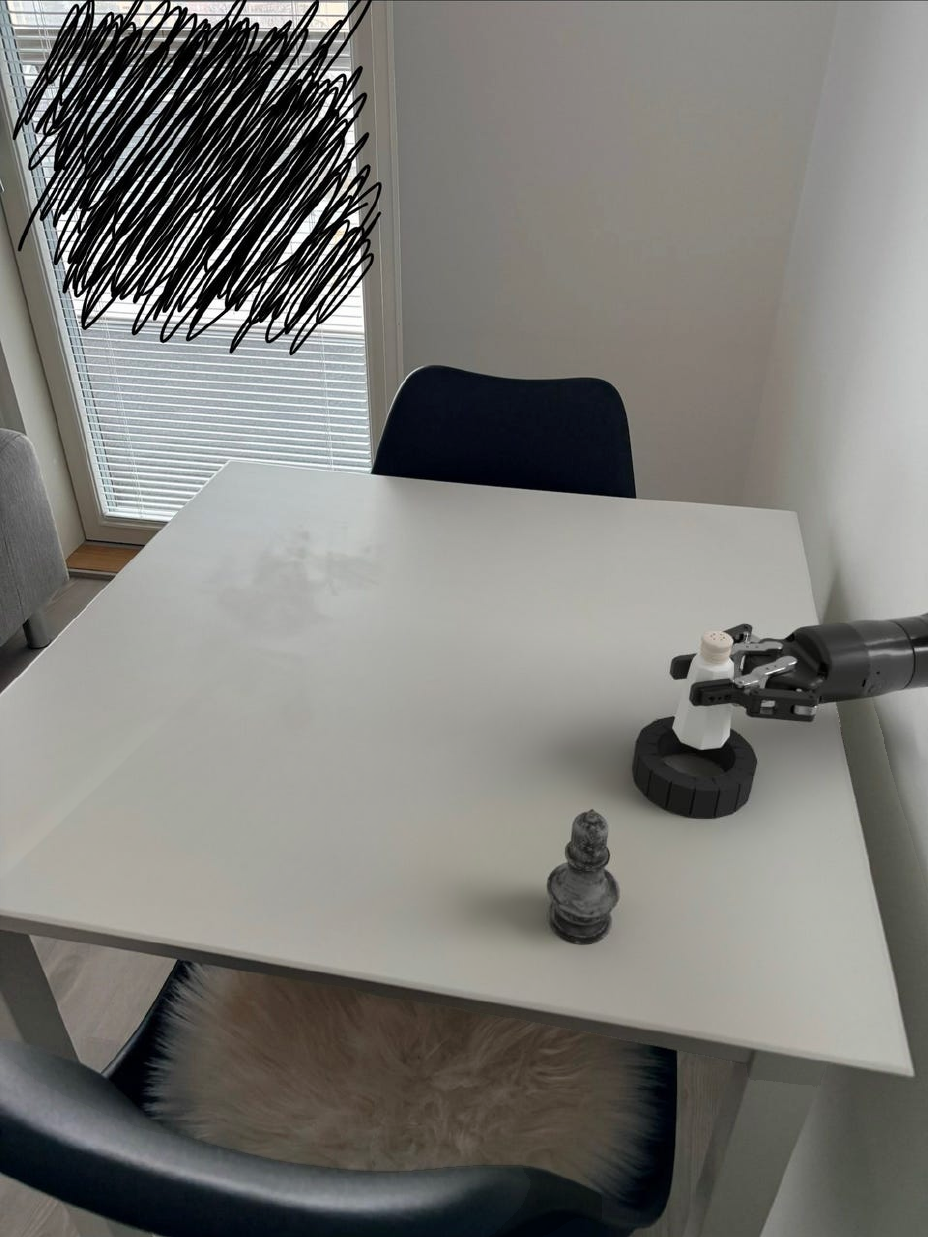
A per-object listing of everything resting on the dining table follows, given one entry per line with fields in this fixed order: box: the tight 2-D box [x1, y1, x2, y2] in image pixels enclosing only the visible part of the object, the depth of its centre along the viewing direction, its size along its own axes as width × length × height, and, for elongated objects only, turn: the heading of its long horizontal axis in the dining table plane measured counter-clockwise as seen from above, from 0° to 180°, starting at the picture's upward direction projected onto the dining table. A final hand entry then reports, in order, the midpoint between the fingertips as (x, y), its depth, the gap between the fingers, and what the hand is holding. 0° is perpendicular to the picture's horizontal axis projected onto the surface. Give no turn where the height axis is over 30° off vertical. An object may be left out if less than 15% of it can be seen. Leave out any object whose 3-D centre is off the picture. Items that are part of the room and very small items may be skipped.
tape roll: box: [631, 715, 758, 820], centre depth 87 cm, size 12×12×4 cm
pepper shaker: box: [672, 630, 734, 750], centre depth 82 cm, size 5×5×11 cm
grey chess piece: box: [546, 808, 621, 945], centre depth 69 cm, size 6×6×12 cm
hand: (682, 681), depth 81 cm, fingers closed on pepper shaker, 3 cm apart
